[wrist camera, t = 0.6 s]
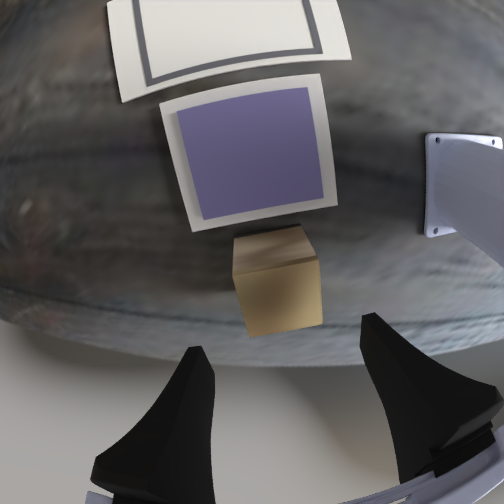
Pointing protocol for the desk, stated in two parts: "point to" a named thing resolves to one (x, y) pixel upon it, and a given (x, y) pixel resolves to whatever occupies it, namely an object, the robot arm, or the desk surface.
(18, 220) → the desk surface
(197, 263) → the desk surface
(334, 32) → the print card
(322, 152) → the ink pad
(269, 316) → the stamp
